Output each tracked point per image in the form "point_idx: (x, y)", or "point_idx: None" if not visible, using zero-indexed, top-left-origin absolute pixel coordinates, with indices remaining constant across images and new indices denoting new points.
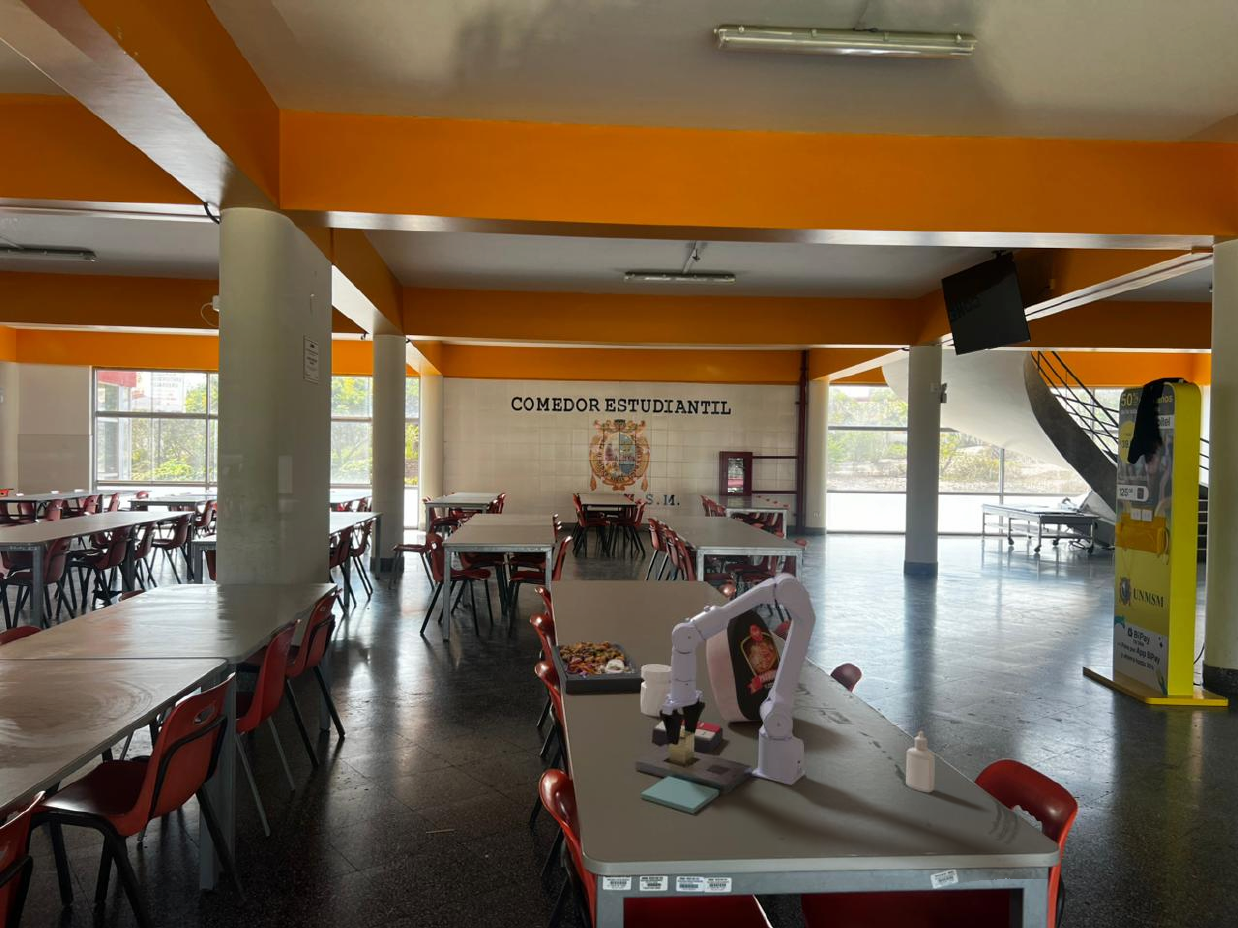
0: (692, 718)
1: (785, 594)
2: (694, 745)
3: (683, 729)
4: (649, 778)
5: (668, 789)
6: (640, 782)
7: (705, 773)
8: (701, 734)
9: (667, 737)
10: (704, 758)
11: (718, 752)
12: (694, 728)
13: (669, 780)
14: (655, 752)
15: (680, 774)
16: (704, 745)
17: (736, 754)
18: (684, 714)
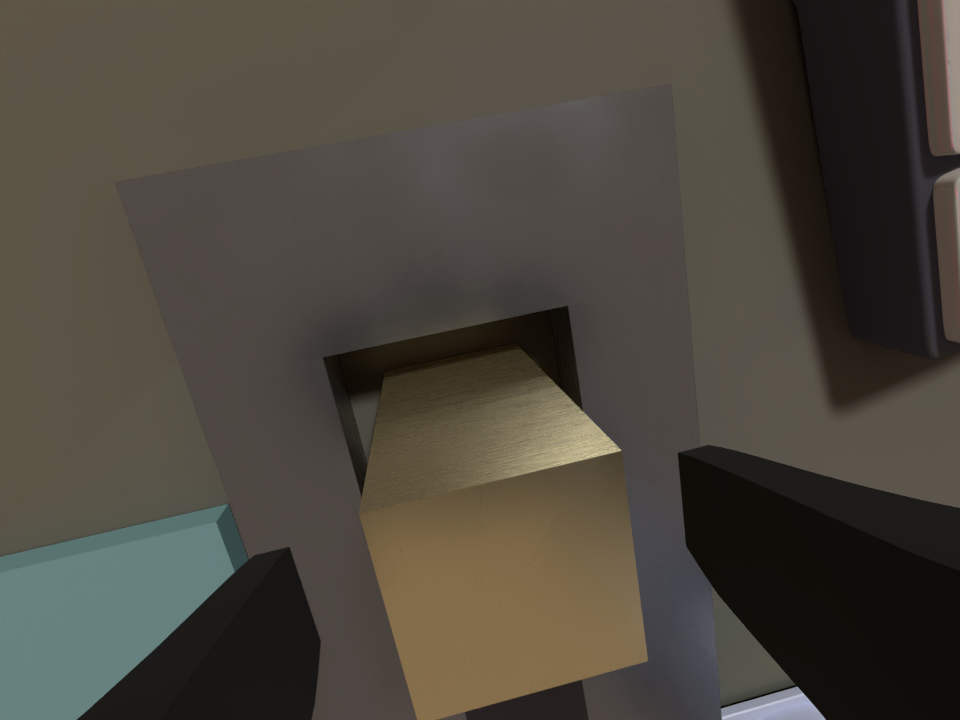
0: (863, 695)
1: None
2: (859, 227)
3: None
4: (137, 391)
5: (44, 676)
6: (19, 402)
7: (404, 703)
8: None
9: (214, 591)
10: None
11: (883, 377)
12: (743, 616)
13: (165, 577)
14: (432, 168)
15: None
16: (883, 307)
17: (916, 470)
18: (912, 573)
